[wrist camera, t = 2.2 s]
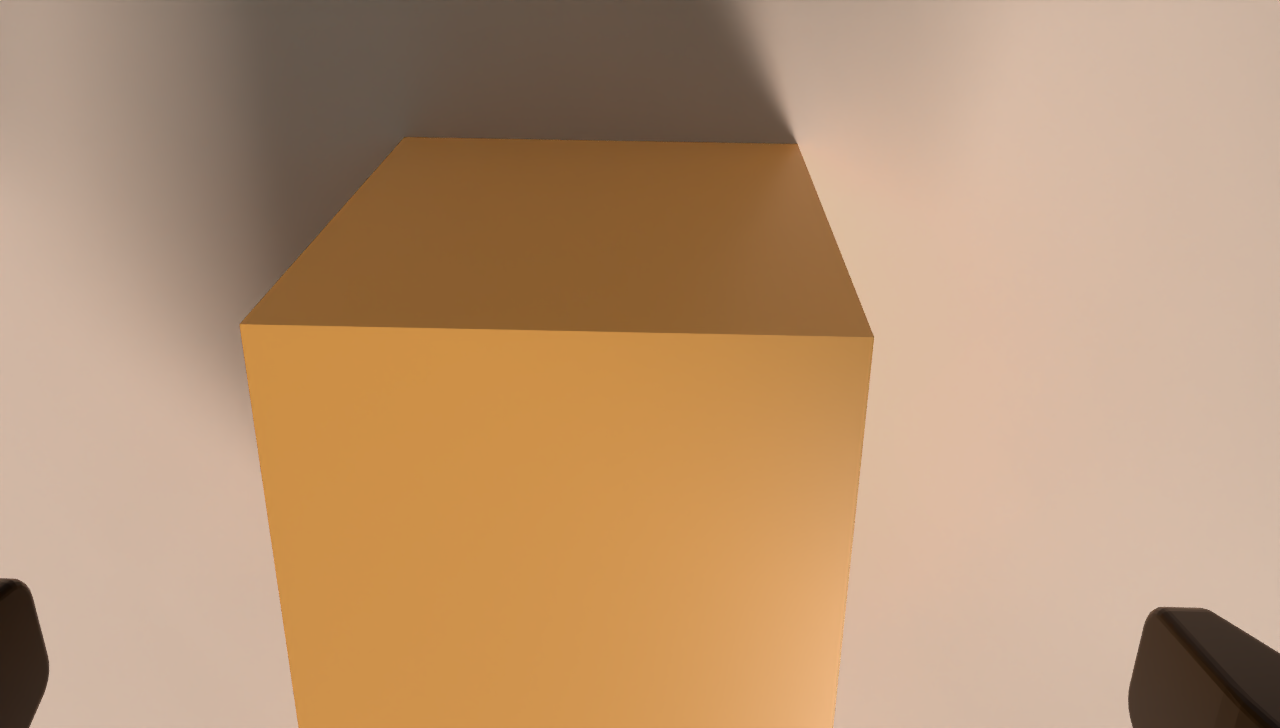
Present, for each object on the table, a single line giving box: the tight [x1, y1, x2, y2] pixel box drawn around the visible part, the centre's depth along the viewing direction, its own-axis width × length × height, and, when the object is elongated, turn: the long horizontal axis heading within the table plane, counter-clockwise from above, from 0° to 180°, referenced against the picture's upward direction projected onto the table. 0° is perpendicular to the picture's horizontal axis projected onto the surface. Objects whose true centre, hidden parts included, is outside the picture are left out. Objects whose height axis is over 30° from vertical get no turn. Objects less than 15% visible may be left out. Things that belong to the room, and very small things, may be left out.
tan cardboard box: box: [240, 137, 874, 728], centre depth 11 cm, size 6×4×5 cm, turn 179°
